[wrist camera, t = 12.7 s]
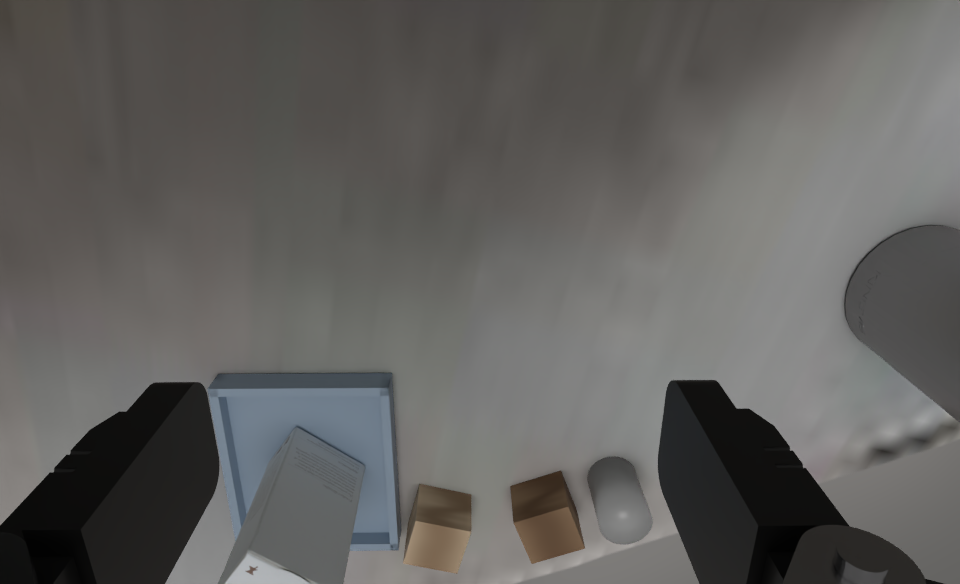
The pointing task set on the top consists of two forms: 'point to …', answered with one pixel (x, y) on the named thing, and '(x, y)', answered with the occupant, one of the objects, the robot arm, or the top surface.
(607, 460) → the grey capsule
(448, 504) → the beech block
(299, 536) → the skincare box
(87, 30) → the top surface
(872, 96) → the top surface
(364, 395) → the tray
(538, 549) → the walnut block
